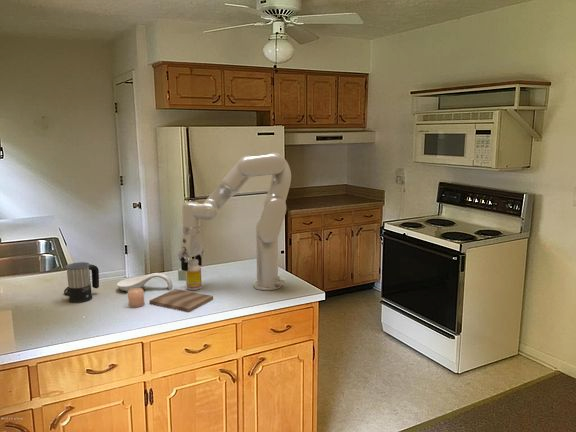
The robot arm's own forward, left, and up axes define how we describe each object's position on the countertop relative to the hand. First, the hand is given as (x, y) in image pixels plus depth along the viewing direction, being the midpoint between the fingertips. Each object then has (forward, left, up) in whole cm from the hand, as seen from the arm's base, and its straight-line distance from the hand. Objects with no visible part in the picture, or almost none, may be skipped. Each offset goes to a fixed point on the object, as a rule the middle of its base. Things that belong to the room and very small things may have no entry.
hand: (191, 267), depth 215 cm
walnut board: (-7, +16, -9) cm, 19 cm away
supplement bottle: (-1, 0, -10) cm, 10 cm away
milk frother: (+37, +31, -10) cm, 49 cm away
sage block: (+11, -9, -10) cm, 18 cm away
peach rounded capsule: (+7, +27, -9) cm, 29 cm away
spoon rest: (+18, +10, -10) cm, 23 cm away
